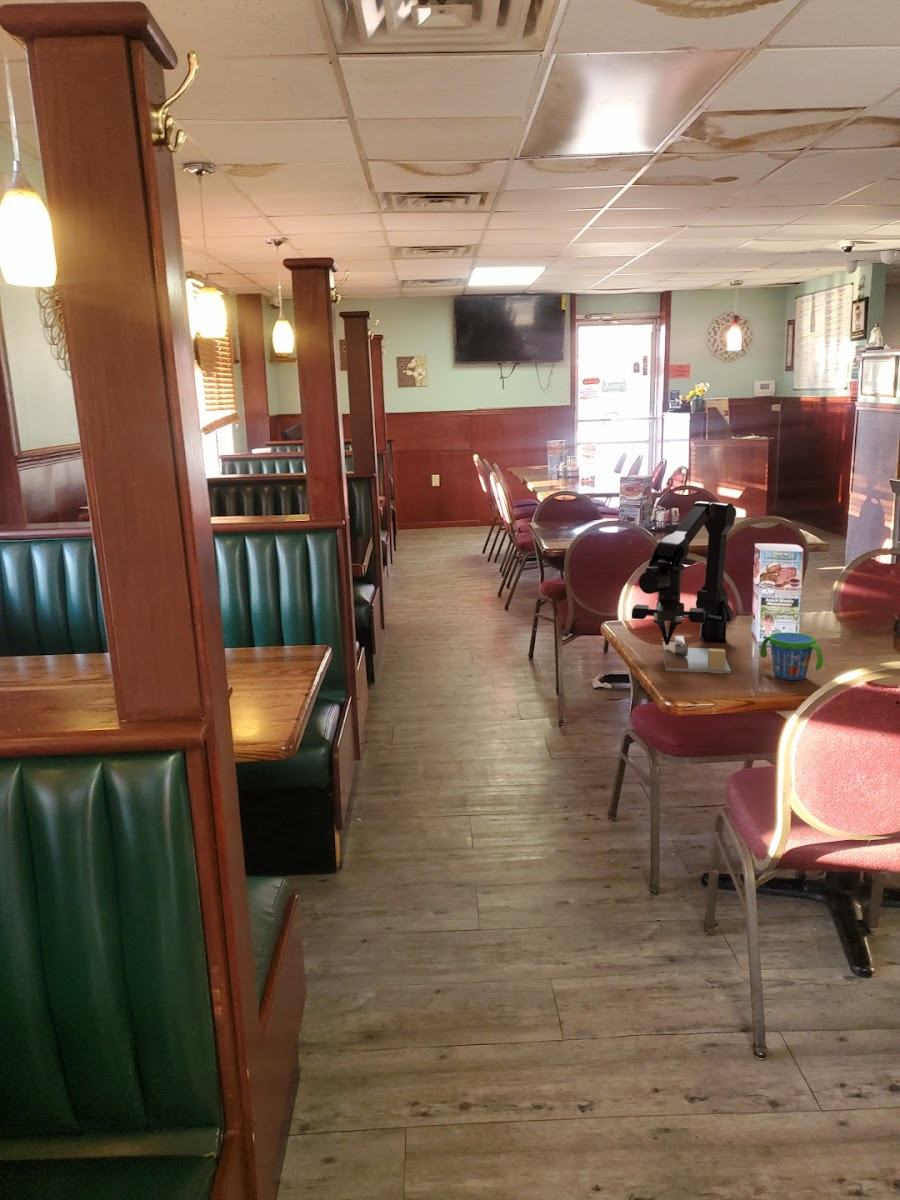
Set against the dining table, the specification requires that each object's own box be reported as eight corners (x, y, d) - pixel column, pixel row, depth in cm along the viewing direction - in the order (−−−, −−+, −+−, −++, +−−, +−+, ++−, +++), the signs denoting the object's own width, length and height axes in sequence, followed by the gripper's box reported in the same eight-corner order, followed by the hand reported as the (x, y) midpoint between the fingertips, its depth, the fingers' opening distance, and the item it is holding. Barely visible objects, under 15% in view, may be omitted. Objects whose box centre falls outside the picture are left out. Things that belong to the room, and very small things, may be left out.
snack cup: (749, 672, 215) (752, 633, 213) (776, 665, 221) (779, 627, 218) (803, 688, 202) (806, 647, 200) (830, 681, 208) (834, 641, 205)
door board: (722, 651, 233) (723, 632, 232) (730, 673, 214) (732, 652, 213) (662, 649, 236) (663, 630, 235) (665, 670, 217) (666, 649, 216)
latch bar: (688, 656, 218) (688, 647, 217) (675, 656, 218) (675, 646, 218) (684, 643, 230) (685, 634, 230) (672, 642, 231) (673, 633, 230)
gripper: (630, 592, 221) (628, 649, 224) (704, 596, 215) (701, 655, 218) (635, 583, 231) (633, 639, 234) (706, 587, 225) (703, 644, 229)
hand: (667, 644), depth 229 cm, fingers closed
